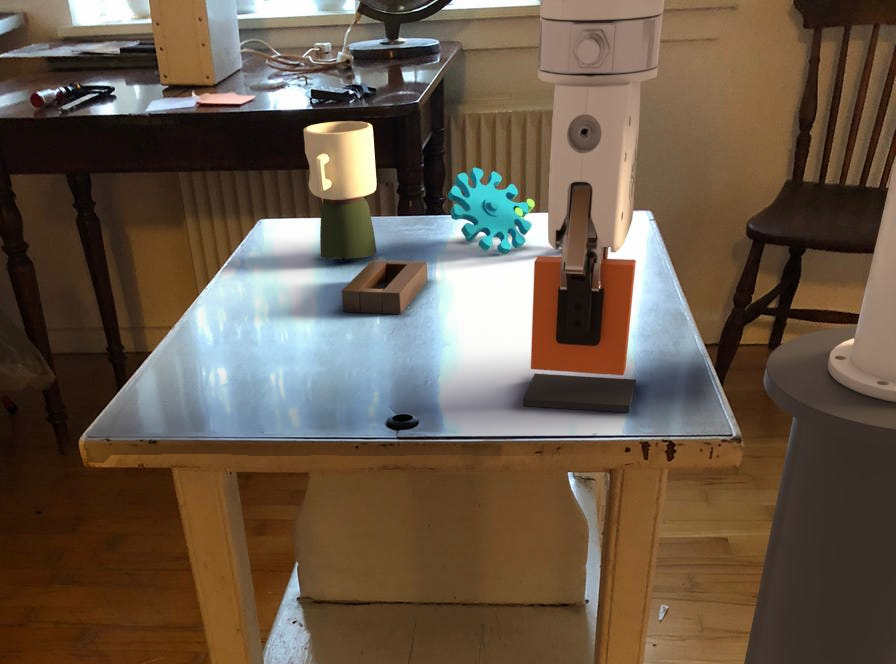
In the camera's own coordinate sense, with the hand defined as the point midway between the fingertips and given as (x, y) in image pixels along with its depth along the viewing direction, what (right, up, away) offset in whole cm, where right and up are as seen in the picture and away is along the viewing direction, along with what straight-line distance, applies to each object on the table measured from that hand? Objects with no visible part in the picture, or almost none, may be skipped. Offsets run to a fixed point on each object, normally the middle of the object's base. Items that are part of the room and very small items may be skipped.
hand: (579, 336), depth 72 cm
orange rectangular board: (0, -2, +1) cm, 3 cm away
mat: (0, -4, +3) cm, 5 cm away
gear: (-4, +21, +36) cm, 42 cm away
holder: (-15, +11, +24) cm, 31 cm away
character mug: (-20, +19, +35) cm, 45 cm away
